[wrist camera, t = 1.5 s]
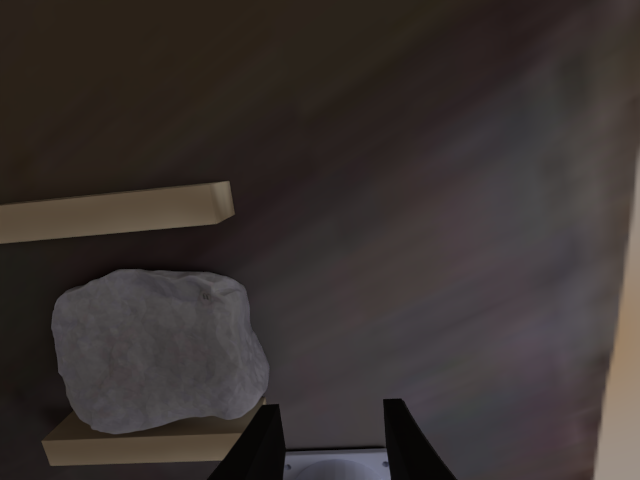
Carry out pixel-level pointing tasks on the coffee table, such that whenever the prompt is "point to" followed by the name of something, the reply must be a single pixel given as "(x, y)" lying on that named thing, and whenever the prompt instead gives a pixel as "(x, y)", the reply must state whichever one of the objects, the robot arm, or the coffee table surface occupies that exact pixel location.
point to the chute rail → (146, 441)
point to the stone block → (157, 349)
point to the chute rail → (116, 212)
